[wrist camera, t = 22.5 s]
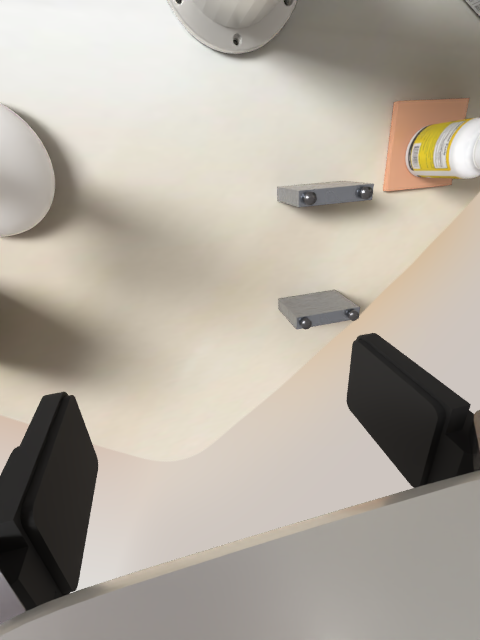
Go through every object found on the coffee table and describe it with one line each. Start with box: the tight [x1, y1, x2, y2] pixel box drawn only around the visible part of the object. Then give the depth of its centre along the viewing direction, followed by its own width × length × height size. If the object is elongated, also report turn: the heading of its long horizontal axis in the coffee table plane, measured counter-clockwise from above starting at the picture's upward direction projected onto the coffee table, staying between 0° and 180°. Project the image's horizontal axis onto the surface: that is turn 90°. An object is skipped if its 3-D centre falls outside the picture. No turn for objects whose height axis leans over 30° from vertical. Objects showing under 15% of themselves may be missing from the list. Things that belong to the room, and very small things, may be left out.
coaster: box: [383, 98, 469, 191], centre depth 38 cm, size 9×9×1 cm
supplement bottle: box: [405, 117, 480, 179], centre depth 33 cm, size 5×5×10 cm
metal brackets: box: [277, 181, 374, 329], centre depth 37 cm, size 15×8×7 cm, turn 4°
